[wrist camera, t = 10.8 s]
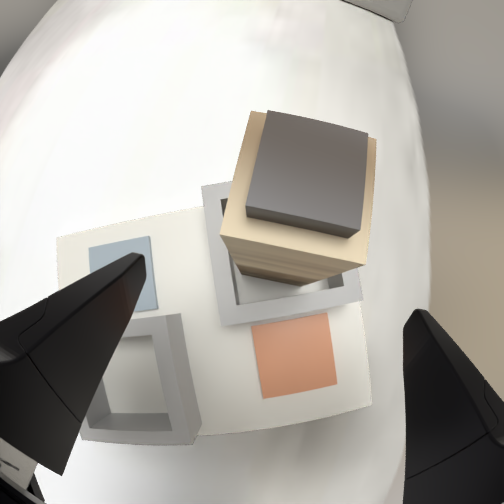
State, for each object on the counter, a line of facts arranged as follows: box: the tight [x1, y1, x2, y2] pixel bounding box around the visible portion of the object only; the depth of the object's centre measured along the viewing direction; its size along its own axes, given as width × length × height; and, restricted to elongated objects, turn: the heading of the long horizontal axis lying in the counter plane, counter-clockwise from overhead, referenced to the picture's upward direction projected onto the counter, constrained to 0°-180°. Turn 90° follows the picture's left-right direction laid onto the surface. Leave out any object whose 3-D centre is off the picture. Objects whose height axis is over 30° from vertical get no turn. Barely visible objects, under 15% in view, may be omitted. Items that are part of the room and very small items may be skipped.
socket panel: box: [57, 181, 372, 445], centre depth 18 cm, size 16×22×4 cm
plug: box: [220, 110, 376, 287], centre depth 14 cm, size 4×4×13 cm
